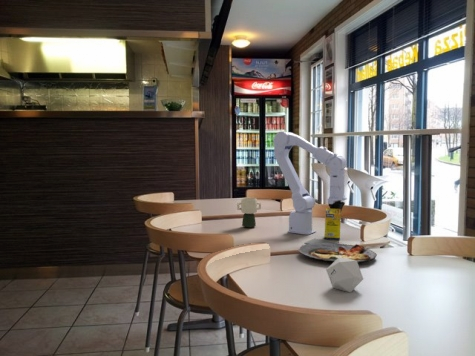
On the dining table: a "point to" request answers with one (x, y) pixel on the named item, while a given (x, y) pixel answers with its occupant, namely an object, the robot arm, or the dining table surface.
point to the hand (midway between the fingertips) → (336, 219)
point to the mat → (320, 241)
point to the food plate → (337, 252)
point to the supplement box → (332, 223)
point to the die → (344, 274)
